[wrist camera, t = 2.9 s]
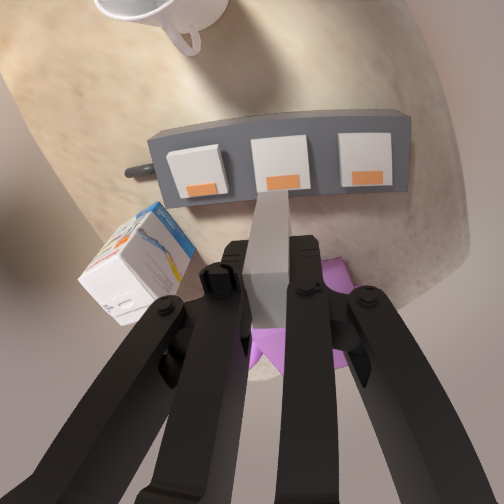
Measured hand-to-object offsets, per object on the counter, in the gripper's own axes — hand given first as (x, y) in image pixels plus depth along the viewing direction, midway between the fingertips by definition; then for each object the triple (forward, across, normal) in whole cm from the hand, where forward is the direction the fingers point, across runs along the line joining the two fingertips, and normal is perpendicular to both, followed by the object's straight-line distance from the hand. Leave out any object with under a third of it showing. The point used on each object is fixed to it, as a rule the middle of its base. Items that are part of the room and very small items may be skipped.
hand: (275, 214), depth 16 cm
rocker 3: (+13, +8, -2) cm, 15 cm away
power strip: (+18, -3, -1) cm, 18 cm away
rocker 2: (+13, 0, -2) cm, 13 cm away
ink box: (+18, -18, -11) cm, 28 cm away
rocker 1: (+13, -8, -2) cm, 15 cm away
